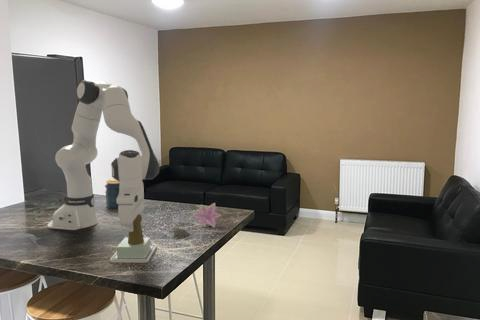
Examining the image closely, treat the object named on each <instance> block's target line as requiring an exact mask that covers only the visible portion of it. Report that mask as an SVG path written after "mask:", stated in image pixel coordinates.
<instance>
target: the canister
mask: <svg viewBox="0 0 480 320" xmlns="http://www.w3.org/2000/svg"><path fill="white" fill-rule="evenodd" d="M119 185H120V181H117V180H116V179H114V178H113V177H111V178H109V179H108V180H106V184H105V185H104V187H105V191H104V193H105V205H106V207H107V208H109V209H112V210H114V209H117V210H118V205H119V204H117V202H116V199H117V197H118V195H119V191H120V190H119Z"/></svg>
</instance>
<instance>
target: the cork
mask: <svg viewBox="0 0 480 320" xmlns="http://www.w3.org/2000/svg"><path fill="white" fill-rule="evenodd" d="M142 221H143V217H142V215H141V213H140V214H138V215H137V217H136V219H135V220H134V221H133V226H134V231H133V232H129V231H128V244H131V245H138V244H141V243H143V242H144V239H143V238H144V234H143V229H142Z"/></svg>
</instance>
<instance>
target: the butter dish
mask: <svg viewBox="0 0 480 320" xmlns="http://www.w3.org/2000/svg"><path fill="white" fill-rule="evenodd" d="M128 237H129V236H128ZM128 237H127V236H125V237H124V238H123V239H122V240H121V242H119V244H118V245H117V246H116V252H115V253H114V254H113V255H112V256H111V258H110V259H109V261H110V263H130V264H131V263H133V264H134V263H135V264H136V263H138V264H139V263H142V264H143V263H144V264H145V263H147V264H148V263H149V261H150V259H151V258H152V256H153V255H154V253H155V251H156V250H157V249H158V246H157V245H156V244H151V238H150V237H143V239H144V242H143V243H141V244H138V245H131V244H128Z"/></svg>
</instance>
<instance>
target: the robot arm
mask: <svg viewBox="0 0 480 320" xmlns="http://www.w3.org/2000/svg"><path fill="white" fill-rule="evenodd" d="M76 97H77V99H78V101H79V102H78V104H77V106H76V110H75V113H74V116H73V117H74V118H73V121H72V124H71V132H72V134H73V142H72V143H71V144H68V145H65V146H62V147H61V148H60V149H59V150H58V151H57V152H56V153H55V163H56V165H57V166H58V167H59V168H60V169H61V170H62V172H63V174H64V177H65V181H66V189H67V190H66V191H67V195H66V196H65V197H64V198H63V199H62V202H64V204H63V205H61V206H60V207H59V208H58V209H57V210H55V211H54V212H53V214H52V217H51V221H49V222H48V223H47V228H48V229H55V230H56V229H57V230H65V231H66V230H68V231H77V230H80V229H85V228H89V227H92V226H94V225H95V226H96V225H97V224H98V223H99V220H98V217H97V214H96V210H95V195H94V193H93V192H94V191H93V181H92V180H93V179H92V177H91V176H90V174H89V173H88V170H87V167H86V166H87V165H89V164H91V163H92V162H93V161H94V160H95V159H96V158H97V156H98V149H97V134H98V131H99V125H100V122H101V119H102V114H103V119H104V123H105V125H106V127H108V129H110V130H111V131H113V132H115V133H118V134H122V135H126V136H129V137H131V138H133V139H134V141H136V142H137V145H138V148H139V151H140V152H139V151H137V150H133V149H128V150H122V151H120V152H119V154H118V157H116V158H114V159H113V161H112V162H111V163H110V165H111V178H114V179H116V180H117V181H120V185H119V190H120V191H119V195H118V197H117V199H116V202H117V204H119V205H118V209H117V211H118V212H117V213H118V219H119V223H120V225H121V226H127V228H128V233H129V232H133V231H134V226H133V221H134V220H135V219H136V217H137V215H138V214H140V215H141V213H142V212H143V211H144V209H145V199H144V198H145V192H144V190H145V189H144V182H143V180H153V179H154V178H156V177H157V176H158V175H159V173H160V163H159V160H158V158H157V157H156V155H155V152H154V150H153V147H152V146H151V143H150V140H149V138H148V135H147V132H146V130H145V127H144V126H143V124H142V122H141V121H140V120H138V119H137V118H136V117H135V116H134V115H133V113H132V110H131V107H130V103H129V95H128V91H127V90H126V88H123V87H121V86H117V85H115V84H112V83H110V82H109V83H108V82H102V81H95V80H92V79H83V80H81V81H80V82H79V83H78V85H77V88H76Z"/></svg>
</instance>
